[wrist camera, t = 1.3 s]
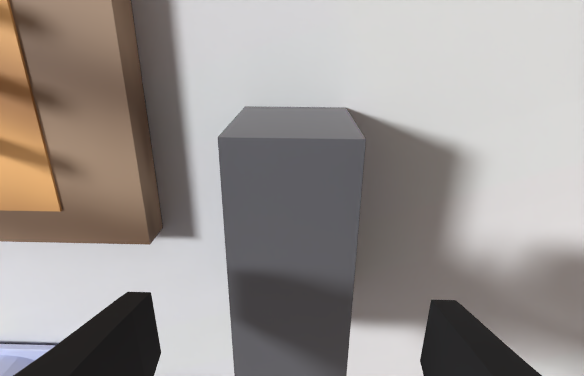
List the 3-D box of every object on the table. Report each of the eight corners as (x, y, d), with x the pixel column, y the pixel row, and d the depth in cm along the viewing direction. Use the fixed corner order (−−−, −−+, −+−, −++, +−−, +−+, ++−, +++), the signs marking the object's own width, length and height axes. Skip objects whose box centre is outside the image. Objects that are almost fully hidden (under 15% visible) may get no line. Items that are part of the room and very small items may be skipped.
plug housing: (334, 294, 18) (345, 383, 13) (252, 292, 18) (234, 380, 13) (345, 107, 14) (365, 139, 10) (245, 106, 15) (217, 137, 10)
